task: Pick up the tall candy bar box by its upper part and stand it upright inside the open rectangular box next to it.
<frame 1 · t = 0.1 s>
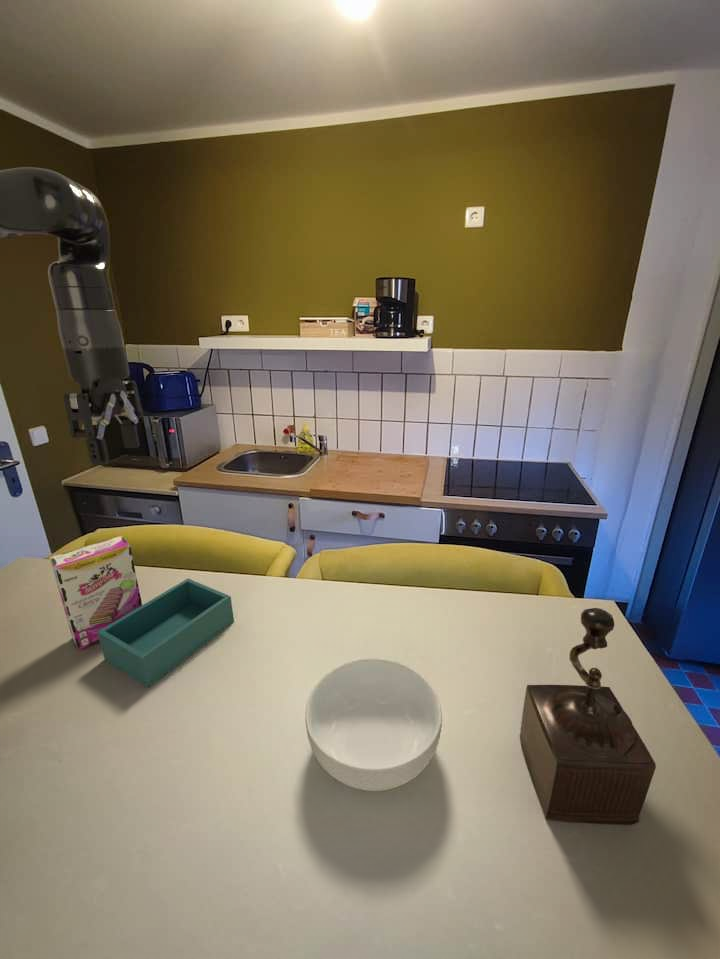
hand: (117, 455, 66), 33 cm above the table, tool pointing down, fingers open, 8 cm apart
cereal bowl: (373, 747, 56), on the table
open rectangular box: (173, 639, 75), on the table
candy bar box: (111, 630, 77), on the table
manual coffee grinder: (566, 758, 54), on the table
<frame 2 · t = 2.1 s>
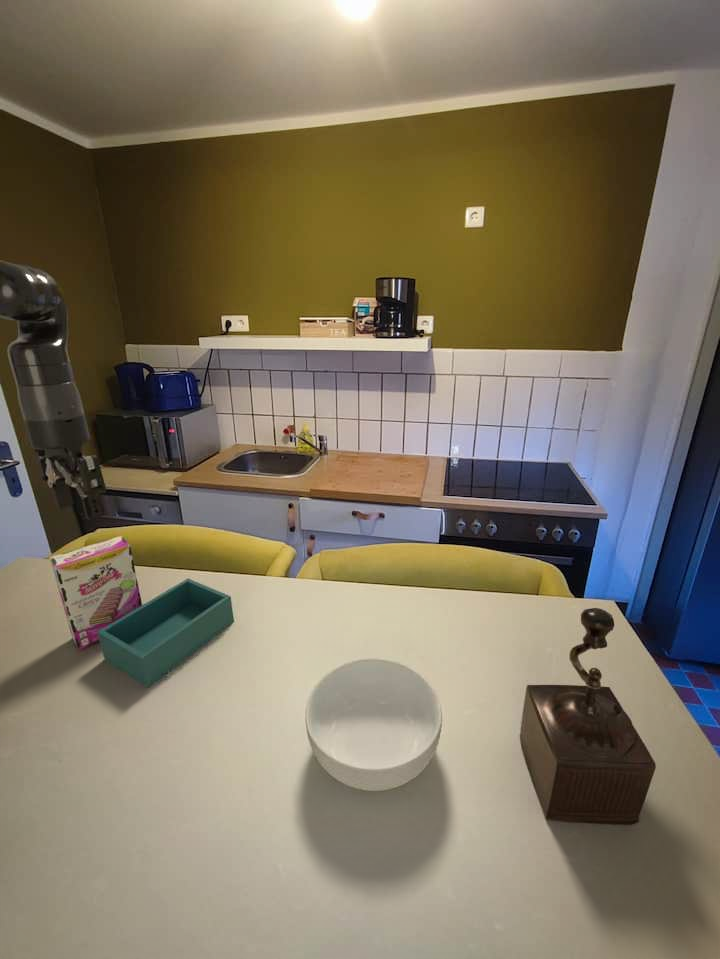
hand: (80, 512, 69), 23 cm above the table, tool pointing down, fingers open, 8 cm apart
nothing on the table moved.
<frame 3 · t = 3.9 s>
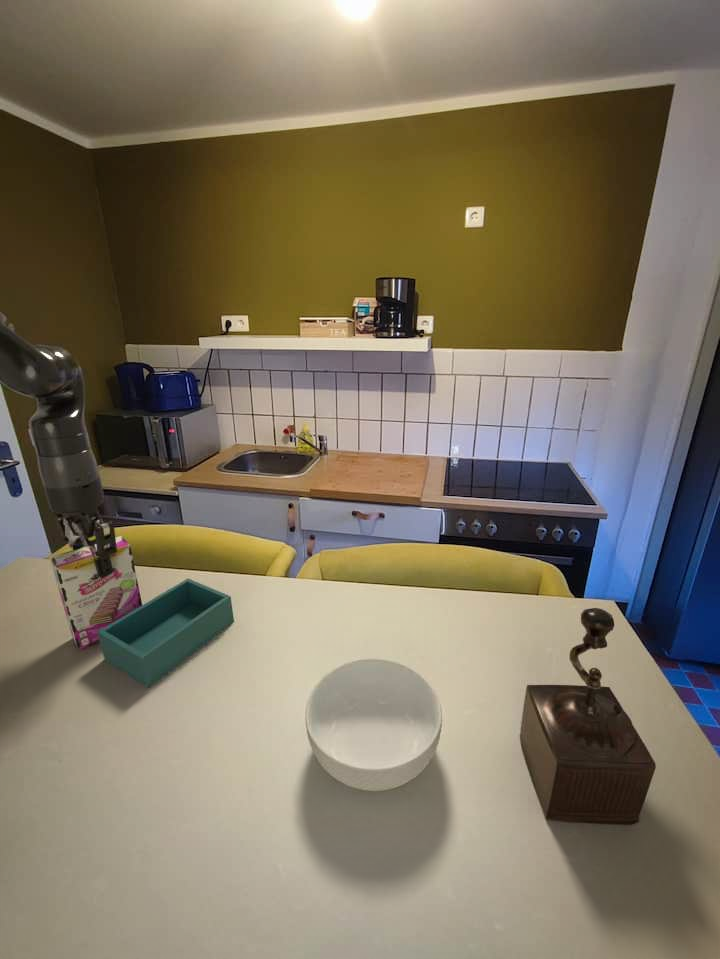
hand: (95, 569, 73), 13 cm above the table, tool pointing down, fingers closed on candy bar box, 5 cm apart
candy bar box: (111, 630, 77), on the table, touching gripper
everything else where it was.
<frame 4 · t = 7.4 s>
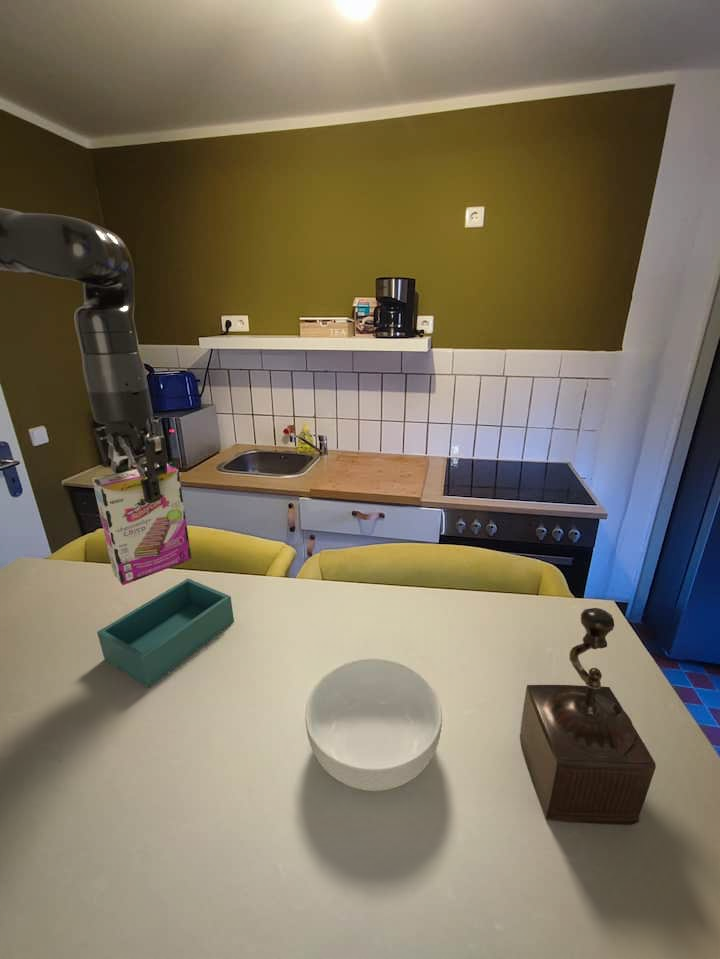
hand: (140, 496, 66), 27 cm above the table, tool pointing down, fingers closed on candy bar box, 5 cm apart
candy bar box: (155, 568, 70), point 14 cm above the table, touching gripper
everything else where it was.
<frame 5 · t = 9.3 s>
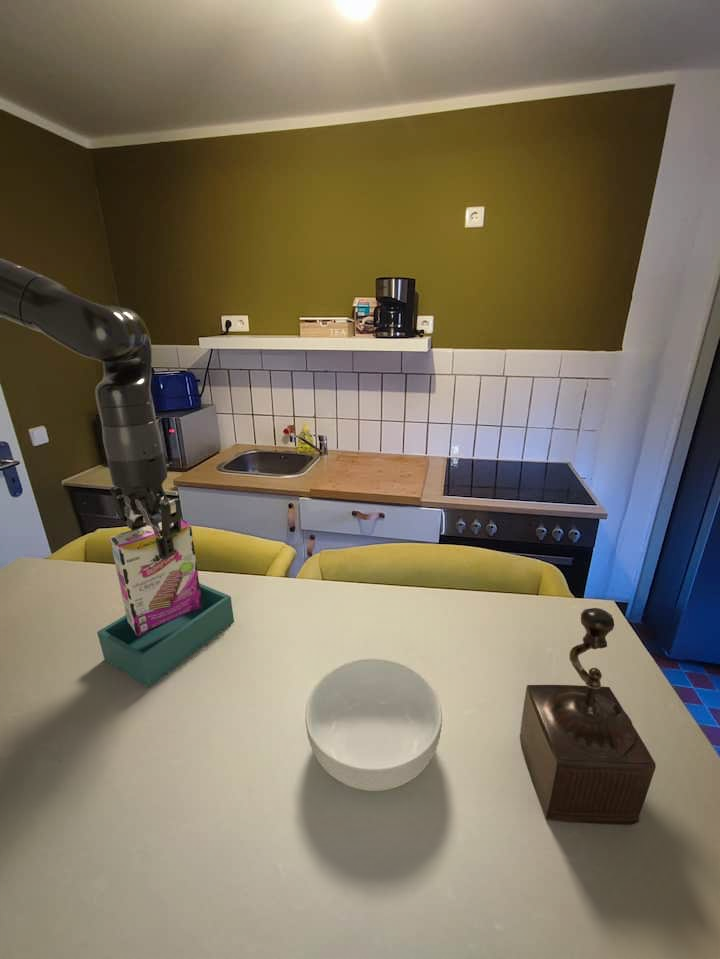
hand: (154, 551, 69), 18 cm above the table, tool pointing down, fingers closed on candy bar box, 5 cm apart
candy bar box: (167, 616, 73), point 5 cm above the table, touching gripper
everything else where it was.
when the fingers open (13 cm above the table, at t = 10.9 s): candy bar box stays where it is, resting on open rectangular box.
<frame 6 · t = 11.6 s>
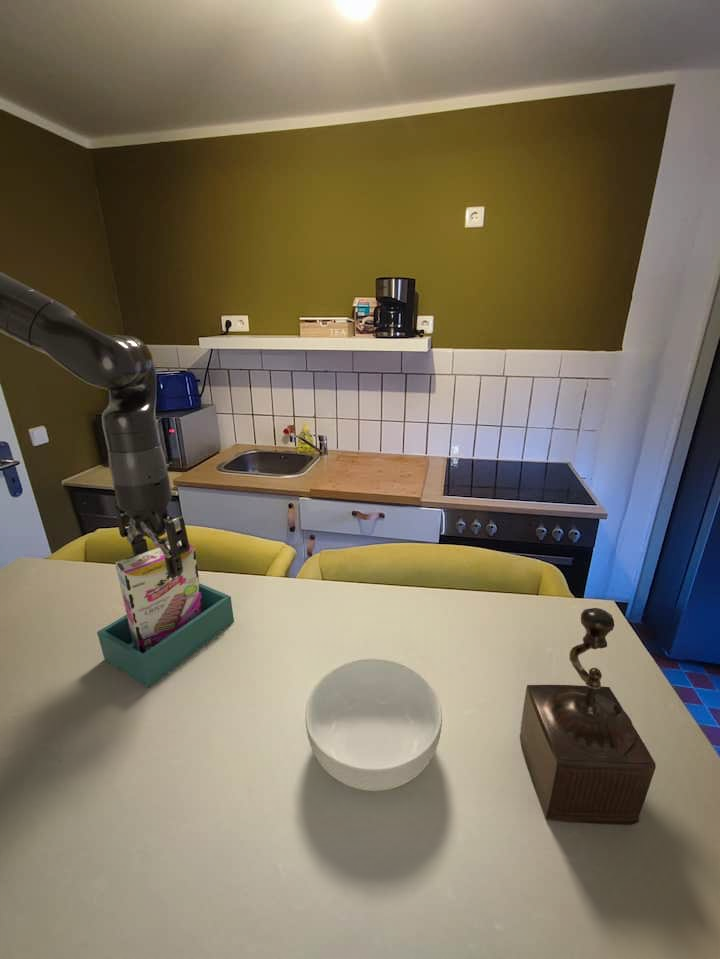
hand: (158, 568, 70), 14 cm above the table, tool pointing down, fingers open, 8 cm apart
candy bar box: (171, 637, 75), resting on open rectangular box
everything else where it was.
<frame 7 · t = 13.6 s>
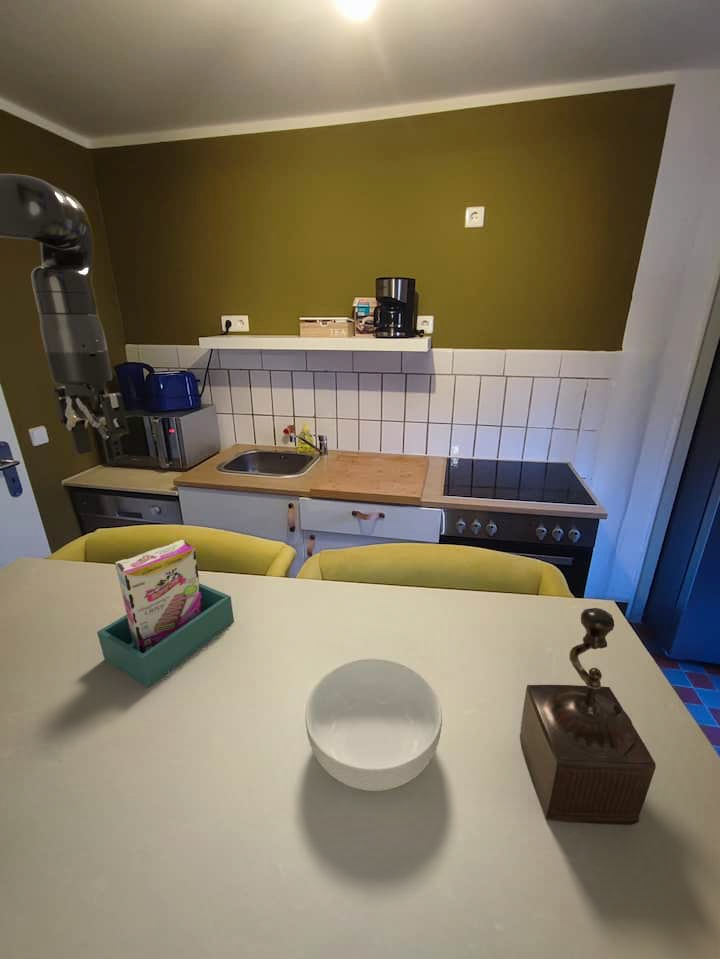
hand: (99, 457, 66), 33 cm above the table, tool pointing down, fingers open, 8 cm apart
nothing on the table moved.
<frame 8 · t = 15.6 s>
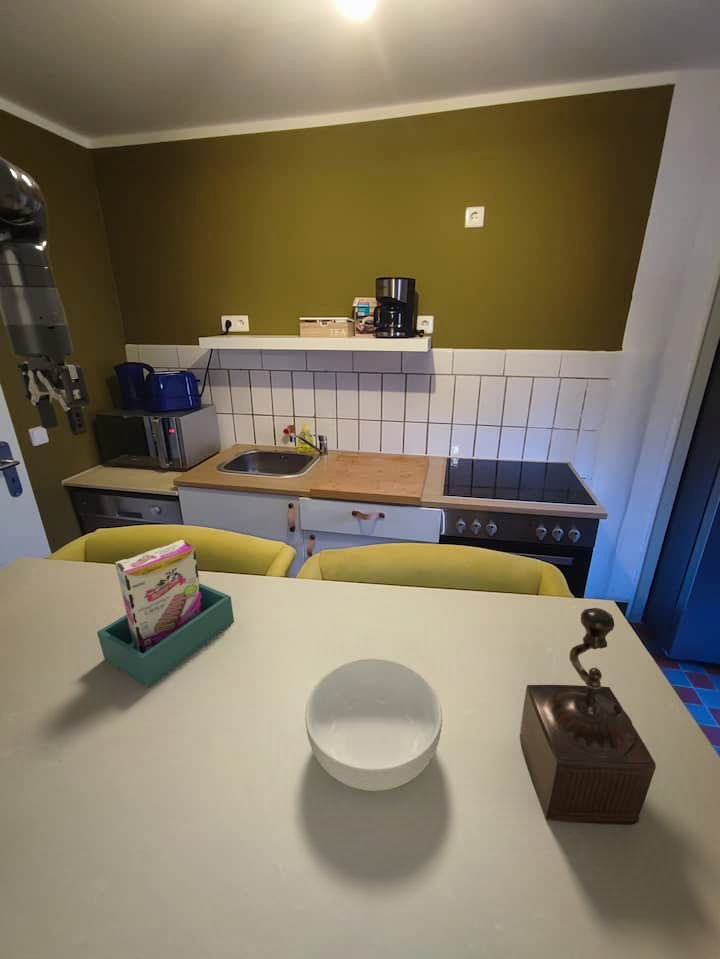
hand: (64, 430, 68), 36 cm above the table, tool pointing down, fingers open, 8 cm apart
nothing on the table moved.
at the end: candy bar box inside the target area in the open rectangular box (0.1 cm from its centre), point 0.4 cm above the open rectangular box's base; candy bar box tilted 0°; the gripper is holding nothing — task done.
